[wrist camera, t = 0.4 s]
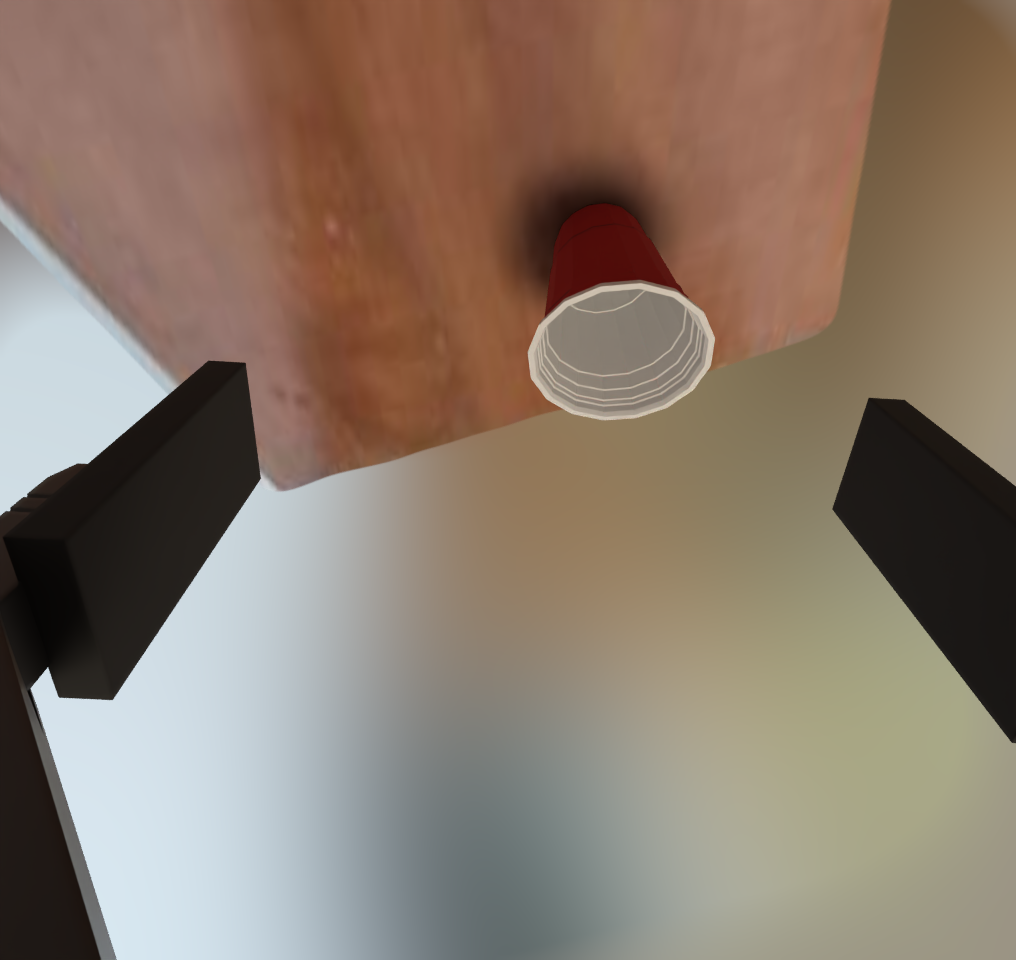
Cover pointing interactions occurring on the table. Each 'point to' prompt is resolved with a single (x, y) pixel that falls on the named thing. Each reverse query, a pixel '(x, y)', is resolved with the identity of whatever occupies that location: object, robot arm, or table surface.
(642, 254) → the plastic cup
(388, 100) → the table surface
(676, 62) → the table surface
